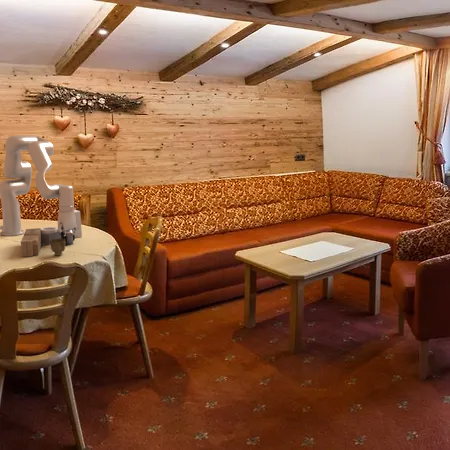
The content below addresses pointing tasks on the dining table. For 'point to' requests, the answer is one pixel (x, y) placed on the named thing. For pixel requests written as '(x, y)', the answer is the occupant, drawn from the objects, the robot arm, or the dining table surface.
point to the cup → (58, 246)
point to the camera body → (49, 235)
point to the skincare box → (78, 224)
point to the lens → (69, 237)
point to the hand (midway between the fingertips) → (68, 241)
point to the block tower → (31, 242)
